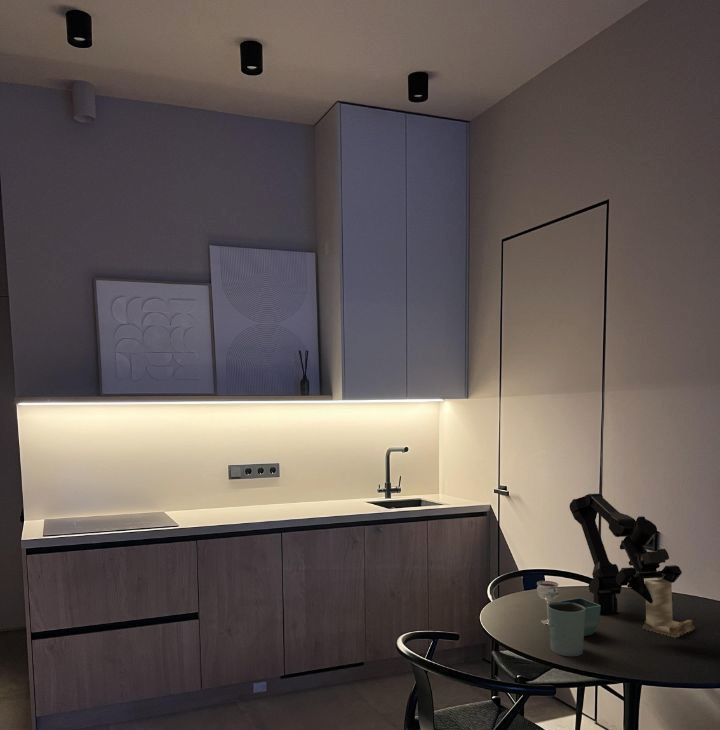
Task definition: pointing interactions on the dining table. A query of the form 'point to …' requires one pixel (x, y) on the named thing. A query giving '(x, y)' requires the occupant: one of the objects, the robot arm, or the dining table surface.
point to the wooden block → (659, 603)
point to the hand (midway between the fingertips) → (661, 602)
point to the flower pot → (588, 614)
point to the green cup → (566, 628)
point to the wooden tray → (672, 628)
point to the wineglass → (547, 593)
